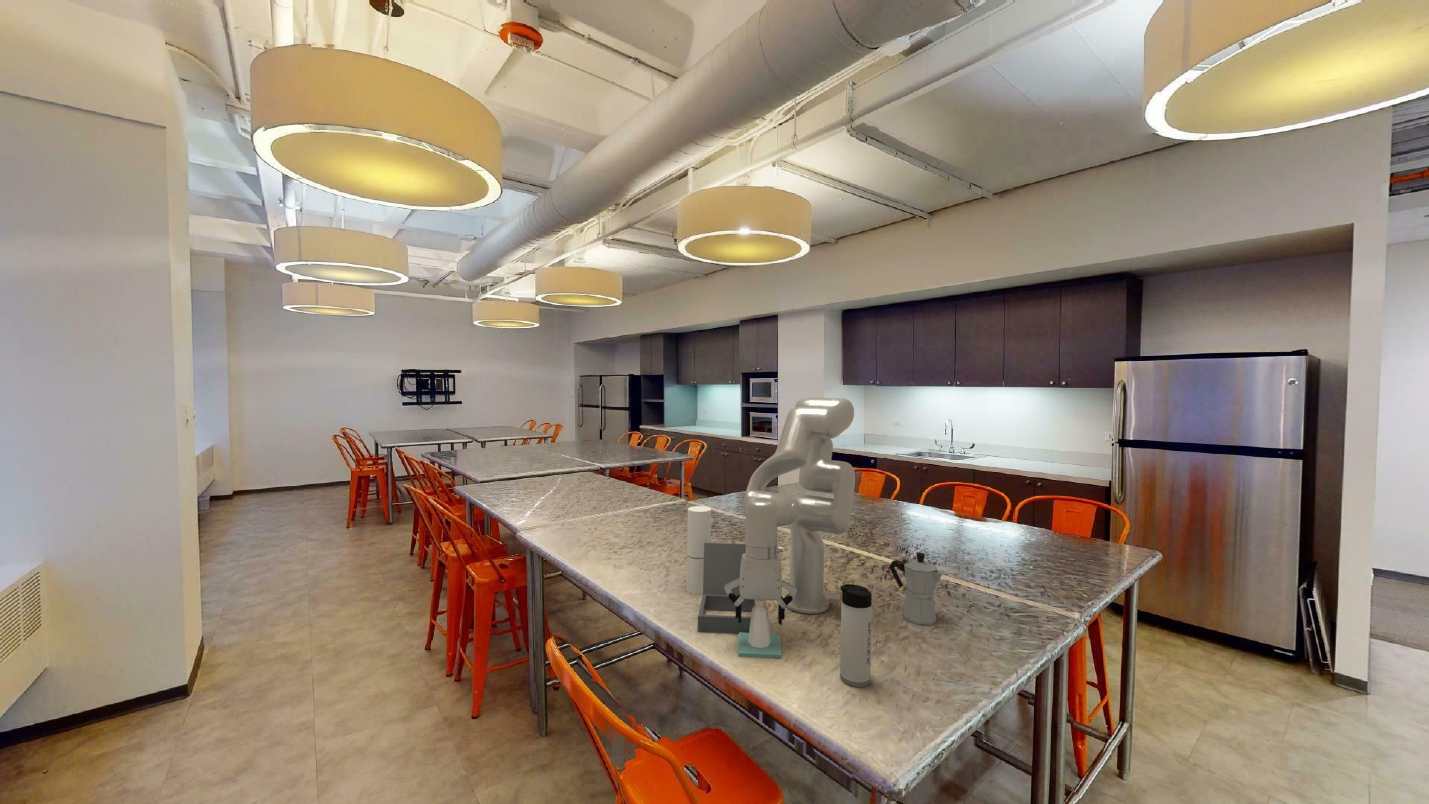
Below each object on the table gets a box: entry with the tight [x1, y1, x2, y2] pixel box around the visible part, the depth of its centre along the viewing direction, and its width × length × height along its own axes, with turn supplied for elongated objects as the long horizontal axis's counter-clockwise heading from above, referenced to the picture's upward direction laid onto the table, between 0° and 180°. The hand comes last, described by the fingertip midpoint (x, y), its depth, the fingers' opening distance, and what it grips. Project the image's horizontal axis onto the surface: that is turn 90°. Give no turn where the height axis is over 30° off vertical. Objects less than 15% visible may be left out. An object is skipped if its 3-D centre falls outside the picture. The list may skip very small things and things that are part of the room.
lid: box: [702, 542, 745, 595], centre depth 144 cm, size 17×14×1 cm
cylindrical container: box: [686, 505, 712, 595], centre depth 156 cm, size 7×7×25 cm
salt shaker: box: [748, 600, 771, 648], centre depth 122 cm, size 5×5×11 cm
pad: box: [737, 632, 783, 660], centre depth 122 cm, size 10×10×1 cm
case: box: [697, 594, 755, 635], centre depth 135 cm, size 17×14×4 cm
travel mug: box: [839, 583, 873, 688], centre depth 108 cm, size 6×7×20 cm
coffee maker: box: [888, 551, 945, 626], centre depth 139 cm, size 15×9×18 cm, turn 47°
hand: (759, 621), depth 122 cm, fingers open, 9 cm apart
